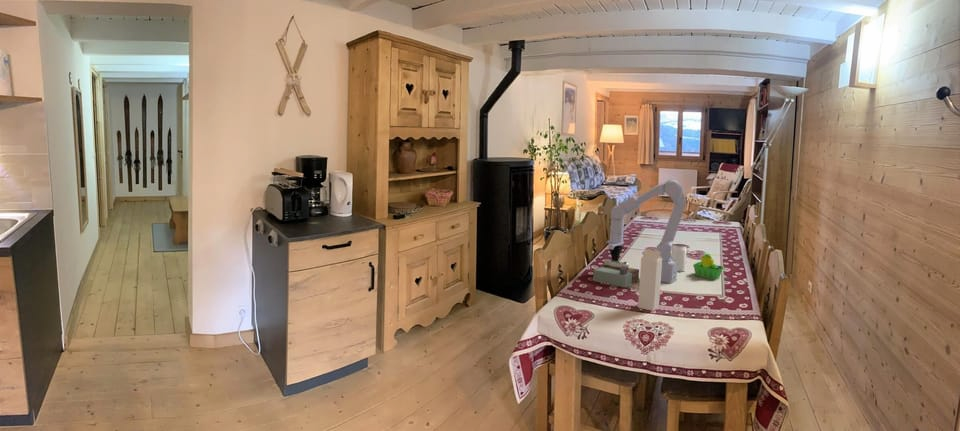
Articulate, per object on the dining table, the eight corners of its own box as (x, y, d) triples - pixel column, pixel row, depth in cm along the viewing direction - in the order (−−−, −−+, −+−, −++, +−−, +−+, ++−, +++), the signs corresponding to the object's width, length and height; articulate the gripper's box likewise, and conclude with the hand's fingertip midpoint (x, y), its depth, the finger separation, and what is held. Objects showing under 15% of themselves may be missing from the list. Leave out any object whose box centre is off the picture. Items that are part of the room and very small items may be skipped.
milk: (643, 303, 213) (647, 247, 209) (659, 307, 209) (663, 250, 206) (637, 307, 208) (641, 250, 204) (653, 311, 204) (657, 253, 201)
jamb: (638, 280, 243) (639, 269, 242) (632, 283, 238) (633, 272, 237) (606, 274, 252) (607, 263, 251) (600, 277, 247) (600, 265, 246)
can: (685, 272, 256) (687, 247, 254) (671, 271, 258) (673, 246, 255) (683, 268, 263) (685, 244, 260) (669, 267, 264) (671, 243, 262)
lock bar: (629, 267, 242) (629, 261, 242) (626, 269, 240) (627, 263, 240) (606, 263, 249) (606, 257, 248) (603, 264, 247) (603, 258, 246)
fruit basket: (723, 277, 249) (725, 253, 247) (716, 281, 243) (718, 256, 241) (698, 272, 257) (700, 248, 255) (690, 276, 251) (692, 251, 249)
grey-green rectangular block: (631, 284, 237) (632, 267, 236) (625, 287, 232) (626, 270, 231) (599, 277, 246) (600, 261, 245) (592, 280, 241) (593, 264, 240)
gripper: (613, 228, 256) (611, 257, 258) (602, 234, 244) (601, 264, 246) (628, 230, 252) (626, 259, 255) (618, 236, 240) (616, 266, 242)
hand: (615, 261), depth 250 cm, fingers closed
